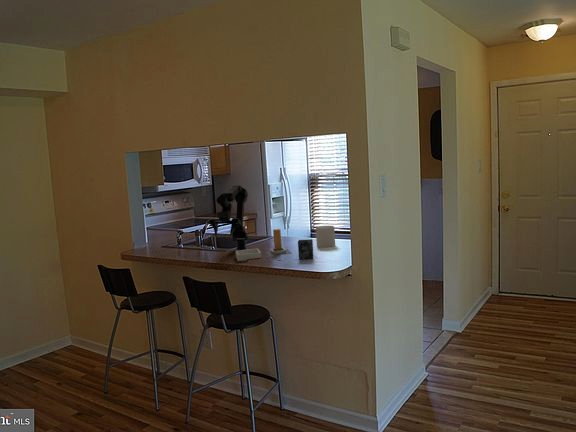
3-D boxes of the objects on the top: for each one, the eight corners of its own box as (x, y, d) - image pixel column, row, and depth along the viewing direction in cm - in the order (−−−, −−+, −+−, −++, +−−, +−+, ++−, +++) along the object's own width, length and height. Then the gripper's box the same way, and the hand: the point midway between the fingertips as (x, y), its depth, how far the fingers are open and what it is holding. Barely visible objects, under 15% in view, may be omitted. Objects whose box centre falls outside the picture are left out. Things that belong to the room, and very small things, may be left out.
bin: (235, 257, 307) (235, 250, 306) (258, 254, 309) (257, 248, 309) (238, 261, 293) (237, 255, 293) (261, 259, 296) (260, 252, 295)
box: (298, 259, 287) (297, 241, 286) (300, 257, 293) (298, 239, 291) (312, 259, 286) (311, 240, 285) (313, 257, 292) (312, 239, 290)
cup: (334, 247, 316) (333, 228, 314) (315, 247, 318) (314, 229, 316) (336, 243, 327) (335, 225, 325) (318, 244, 329) (317, 226, 328)
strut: (274, 252, 308) (272, 229, 306) (281, 251, 309) (279, 228, 307) (275, 253, 304) (273, 230, 302) (282, 252, 305) (281, 229, 303)
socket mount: (265, 253, 312) (264, 248, 312) (287, 250, 315) (287, 246, 314) (268, 257, 299) (268, 252, 298) (292, 255, 301) (291, 250, 301)
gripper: (206, 206, 300) (203, 230, 294) (236, 205, 296) (233, 229, 289) (213, 214, 310) (210, 238, 303) (242, 213, 306) (239, 237, 299)
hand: (223, 235), depth 299 cm, fingers open, 9 cm apart
